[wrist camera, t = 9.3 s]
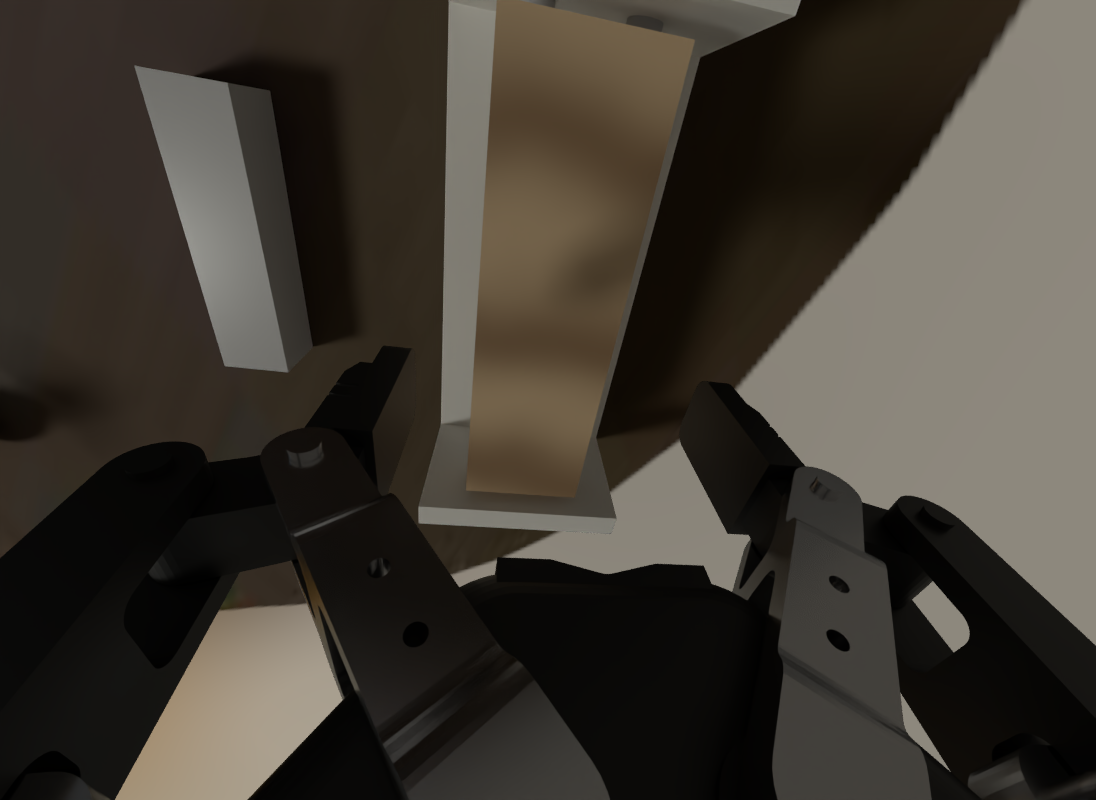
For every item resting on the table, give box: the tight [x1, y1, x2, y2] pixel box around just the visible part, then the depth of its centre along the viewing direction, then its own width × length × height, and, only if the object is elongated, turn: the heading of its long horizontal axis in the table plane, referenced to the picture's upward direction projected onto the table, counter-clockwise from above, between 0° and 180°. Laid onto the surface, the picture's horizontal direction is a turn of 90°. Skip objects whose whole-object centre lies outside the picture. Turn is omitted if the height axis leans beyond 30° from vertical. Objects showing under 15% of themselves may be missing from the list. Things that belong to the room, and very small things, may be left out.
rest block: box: [135, 66, 313, 372], centre depth 19 cm, size 12×3×3 cm, turn 171°
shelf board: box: [466, 0, 695, 498], centre depth 17 cm, size 18×6×2 cm, turn 171°
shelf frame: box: [419, 0, 801, 534], centre depth 19 cm, size 22×10×8 cm, turn 171°
